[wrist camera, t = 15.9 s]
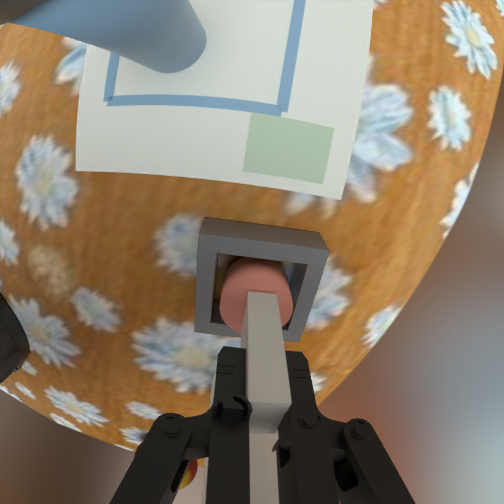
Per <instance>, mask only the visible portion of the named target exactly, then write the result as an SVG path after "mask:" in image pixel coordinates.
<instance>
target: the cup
mask: <svg viewBox="0 0 504 504" xmlns="http://www.w3.org/2000/svg"><path fill="white" fill-rule="evenodd" d="M215 379H216V372H215V373H214V375H213V379H212V387H211V397H210V407H209V409H210V408H211V406H212V404H213V399H214V389H215ZM277 440H278V429H277V431H276V433H275V434H263V433H249V448H250V504H279V493H278V476H277V460H276V450H275V451H274V452H272V448H273V446H274V444H275V443H276V441H277ZM207 471H208V457H207V458H205V463H204V476H203V490H202V491H203V492H202V504H205V502H206V486H207Z"/></svg>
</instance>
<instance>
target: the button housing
mask: <svg viewBox="0 0 504 504" xmlns="http://www.w3.org/2000/svg"><path fill="white" fill-rule="evenodd" d="M218 253H221V254H229V255H237V256H245V257H253V258H261V259H269V260H277V261H285V262H293V263H296V265H295V269H294V273H293V277H292V281H291V284H290V292H291V297H292V301H293V312H292V315H291V317H290V319H289V320H288V322H287V323H286V324H285V325H284V326H283V327H282V333H283V340H284V341H290V342H299V340H300V338H301V335H302V332H303V330H304V327H305V324H306V321H307V318H308V316H309V313H310V310H311V307H312V304H313V301H314V298H315V295H316V292H317V289H318V286H319V283H320V280H321V277H322V273H323V270H324V267H325V264H326V260H327V257H328V254H329V249H328V247H327V245H326V243H325V242H324V240H323V238H322V236H321V235H320V233H317V232H310V231H304V230H297V229H290V228H283V227H276V226H269V225H262V224H254V223H247V222H239V221H231V220H223V219H215V218H207V217H205V220H204V222H203V225H202V227H201V230H200V232H199V241H198V256H197V274H196V296H195V328H194V332H199V333H207V334H214V335H223V336H232V337H241V333H238V332H236V331H234V330H233V329H231V328H230V327H229V326H228V325H227V324H226V323H225V322H224V321H223V319H222V317H221V314H220V301H218V300H214V294H215V283H216V273H217V263H218Z"/></svg>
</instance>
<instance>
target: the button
mask: <svg viewBox="0 0 504 504" xmlns="http://www.w3.org/2000/svg"><path fill="white" fill-rule="evenodd" d="M248 291H255V292H263V293H273V294H277V298H278V305H279V312H280V319H281V326H282V327H283V326H284V325H285V324H286V323H287V322H288V320H289V319H290V317H291V315H292V312H293V301H292V297H291V292H290V288H289V283H288V279H287V275H286V273H285V271H284V269H283V268H282V267H281V265H280V264H278V263H277V262H276V261H274V260H269V259H261V258H253V257H244V258H241V259H239V260H237V261H236V262H234V263H233V264H232V265H231V266H230V267H229V268H228V269H227V271H226V273H225V275H224V278H223V285H222V292H221V300H220V314H221V317H222V319H223V321H224V322H225V323H226V324H227V325H228V326H229V327H230V328H231V329H233V330H234V331H236V332H238V333H242V324H243V318H244V313H245V307H246V301H247V295H248Z"/></svg>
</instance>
